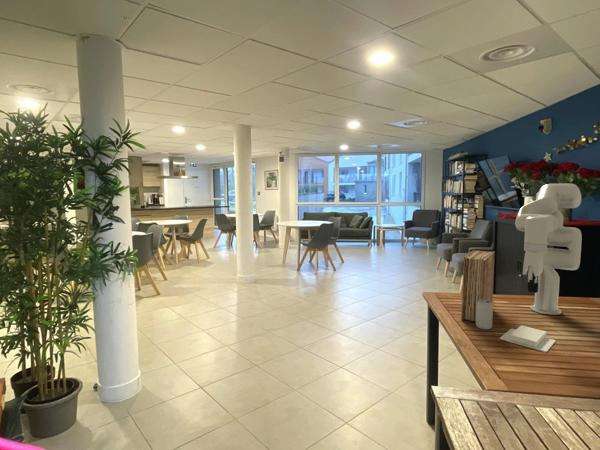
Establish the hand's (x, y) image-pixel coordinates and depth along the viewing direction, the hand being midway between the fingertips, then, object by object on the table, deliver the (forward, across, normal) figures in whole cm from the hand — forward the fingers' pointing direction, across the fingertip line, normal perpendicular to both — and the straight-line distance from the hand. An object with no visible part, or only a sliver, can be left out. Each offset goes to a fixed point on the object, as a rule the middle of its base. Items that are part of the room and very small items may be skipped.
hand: (532, 291), depth 139 cm
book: (+20, -11, -25) cm, 34 cm away
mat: (+19, +4, 0) cm, 20 cm away
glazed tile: (+18, -4, 0) cm, 18 cm away
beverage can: (+20, +3, -17) cm, 26 cm away
